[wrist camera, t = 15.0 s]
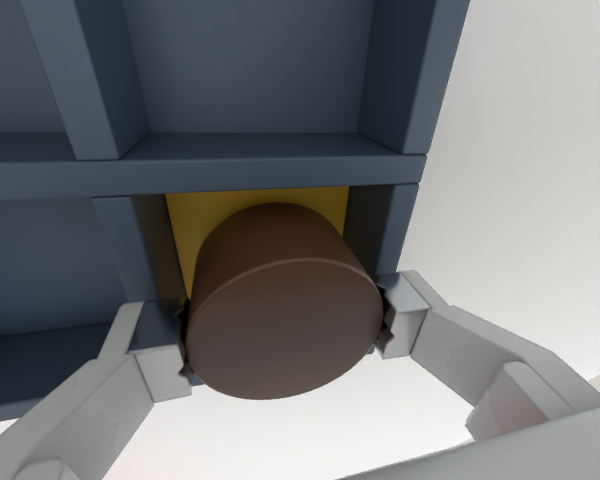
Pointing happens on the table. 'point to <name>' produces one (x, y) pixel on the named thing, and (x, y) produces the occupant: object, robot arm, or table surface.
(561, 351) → the table surface
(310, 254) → the cylinder
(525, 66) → the table surface
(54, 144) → the grid
